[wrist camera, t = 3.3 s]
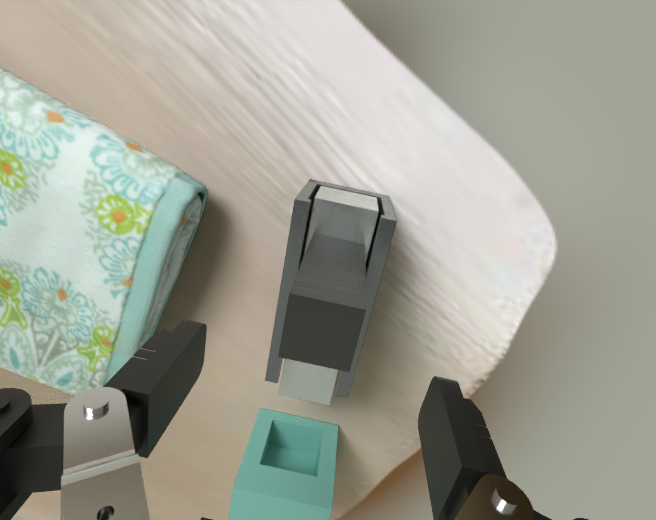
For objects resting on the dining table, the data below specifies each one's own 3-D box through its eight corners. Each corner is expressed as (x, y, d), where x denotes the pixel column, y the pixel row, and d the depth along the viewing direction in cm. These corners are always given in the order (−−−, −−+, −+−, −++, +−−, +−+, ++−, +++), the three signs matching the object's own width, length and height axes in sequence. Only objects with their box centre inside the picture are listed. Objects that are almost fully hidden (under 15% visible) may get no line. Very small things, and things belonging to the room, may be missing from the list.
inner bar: (321, 185, 24) (289, 243, 13) (376, 197, 24) (387, 264, 13) (287, 361, 29) (246, 500, 19) (333, 371, 29) (316, 515, 19)
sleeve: (310, 179, 25) (294, 199, 19) (389, 196, 25) (396, 220, 19) (283, 329, 30) (265, 380, 24) (350, 343, 30) (347, 398, 24)
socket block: (260, 408, 33) (233, 487, 26) (338, 425, 33) (332, 509, 26) (254, 444, 35) (227, 529, 28) (328, 461, 34) (319, 549, 28)
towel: (-62, 293, 32) (-136, 325, 27) (-30, 39, 24) (-126, 21, 19) (137, 386, 34) (101, 431, 29) (226, 179, 26) (196, 194, 21)
